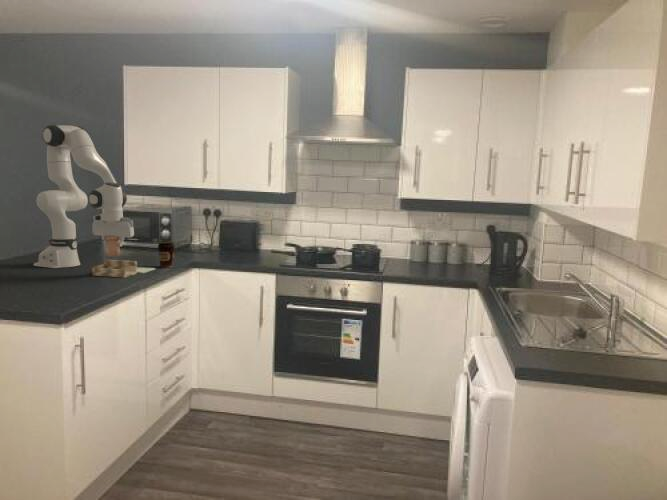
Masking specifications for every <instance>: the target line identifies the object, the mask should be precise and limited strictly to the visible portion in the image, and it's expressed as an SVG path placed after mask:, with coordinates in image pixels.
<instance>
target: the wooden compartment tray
mask: <svg viewBox="0 0 667 500" xmlns="http://www.w3.org/2000/svg"><path fill="white" fill-rule="evenodd" d="M103 261H104V262H103V263H102V264H99V265H95V266H92V268H91V274H92V276H98V277H113V278H127V277H130V275H131V276H134V275H137V274H138V273H137V267H138V261H136V260H122V259H121V260H120V259H119V260H118V259H105V258H104V260H103Z"/></svg>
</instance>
